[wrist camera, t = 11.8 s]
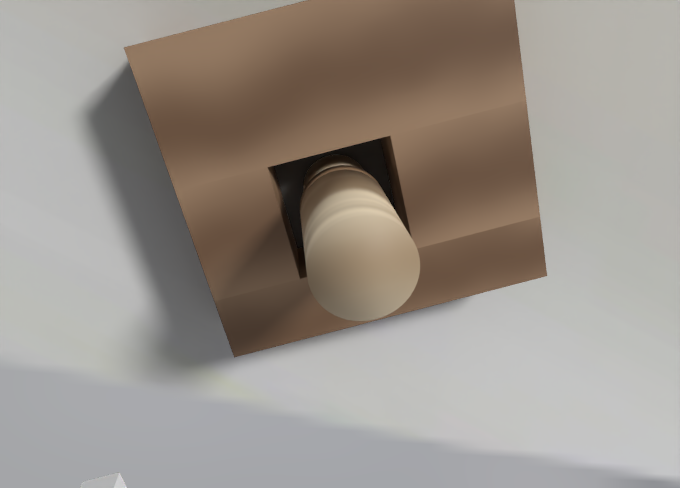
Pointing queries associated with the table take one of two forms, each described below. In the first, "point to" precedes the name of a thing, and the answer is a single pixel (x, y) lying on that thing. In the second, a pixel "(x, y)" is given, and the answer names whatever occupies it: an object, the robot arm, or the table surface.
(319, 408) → the table surface
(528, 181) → the board
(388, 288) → the peg
